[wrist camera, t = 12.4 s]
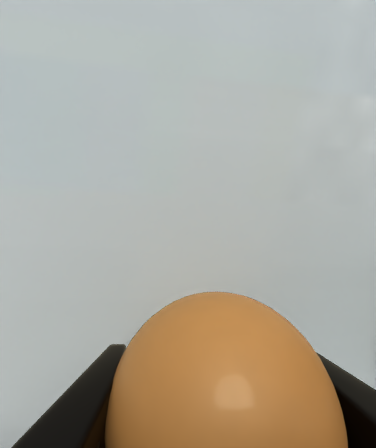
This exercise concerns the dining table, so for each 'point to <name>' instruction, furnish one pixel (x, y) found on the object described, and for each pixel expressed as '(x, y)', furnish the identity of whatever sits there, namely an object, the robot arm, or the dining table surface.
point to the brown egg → (222, 381)
